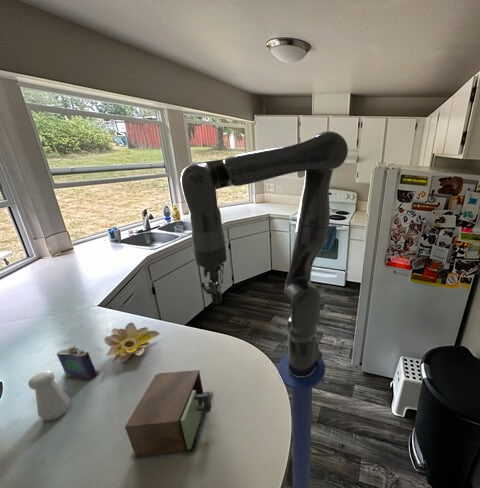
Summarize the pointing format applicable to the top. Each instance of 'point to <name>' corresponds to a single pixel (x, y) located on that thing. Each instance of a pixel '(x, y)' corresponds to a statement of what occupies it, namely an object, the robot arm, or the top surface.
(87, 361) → the flask
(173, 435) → the cabinet
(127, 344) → the decorative flower
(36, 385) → the salt shaker
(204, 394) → the sliding door
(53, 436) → the top surface
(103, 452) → the top surface
